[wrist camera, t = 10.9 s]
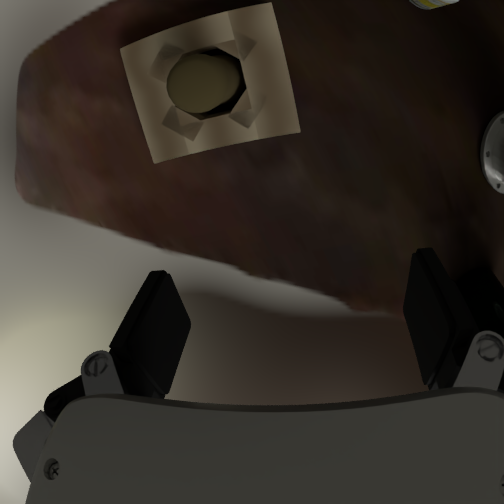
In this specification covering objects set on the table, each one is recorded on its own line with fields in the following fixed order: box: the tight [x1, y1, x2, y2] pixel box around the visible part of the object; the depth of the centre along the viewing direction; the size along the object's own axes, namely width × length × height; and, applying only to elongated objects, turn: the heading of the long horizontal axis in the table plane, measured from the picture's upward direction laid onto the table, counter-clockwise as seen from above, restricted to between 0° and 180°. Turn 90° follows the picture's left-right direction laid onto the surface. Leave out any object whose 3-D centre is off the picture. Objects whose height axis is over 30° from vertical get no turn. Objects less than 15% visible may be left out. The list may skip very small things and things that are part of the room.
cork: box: [166, 54, 245, 113], centre depth 24 cm, size 6×6×11 cm
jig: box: [120, 3, 300, 164], centre depth 27 cm, size 16×14×4 cm
